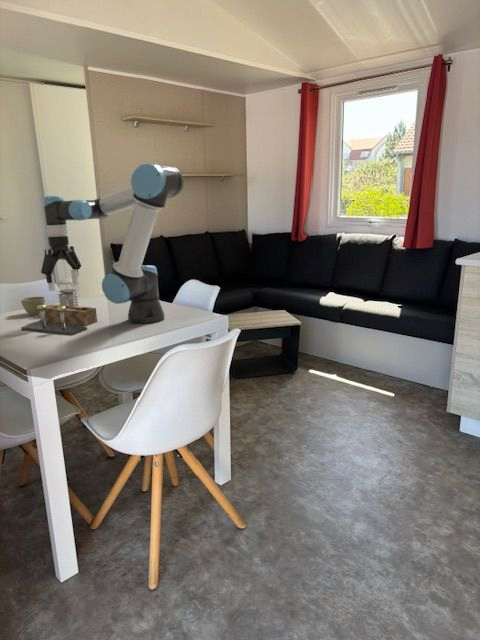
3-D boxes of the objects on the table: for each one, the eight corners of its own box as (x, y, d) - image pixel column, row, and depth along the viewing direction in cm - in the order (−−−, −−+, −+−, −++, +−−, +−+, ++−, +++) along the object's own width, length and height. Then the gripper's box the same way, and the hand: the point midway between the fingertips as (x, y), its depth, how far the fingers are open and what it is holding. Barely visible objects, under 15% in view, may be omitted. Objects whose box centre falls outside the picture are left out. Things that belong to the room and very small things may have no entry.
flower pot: (38, 316, 207) (35, 301, 205) (18, 316, 209) (15, 300, 207) (51, 311, 216) (49, 296, 215) (32, 311, 218) (30, 296, 217)
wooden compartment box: (97, 321, 195) (95, 307, 194) (85, 326, 189) (84, 311, 187) (53, 317, 204) (51, 304, 203) (40, 321, 198) (38, 307, 196)
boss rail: (87, 329, 183) (84, 306, 181) (73, 335, 176) (70, 310, 174) (37, 324, 193) (34, 302, 191) (21, 329, 186) (18, 306, 184)
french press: (53, 312, 214) (46, 258, 208) (71, 307, 224) (65, 255, 218) (70, 314, 210) (64, 258, 204) (88, 308, 220) (82, 255, 214)
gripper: (72, 233, 200) (78, 282, 206) (26, 238, 178) (34, 292, 183) (86, 233, 198) (91, 282, 203) (41, 238, 175) (48, 293, 180)
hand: (64, 287), depth 193 cm, fingers open, 13 cm apart
